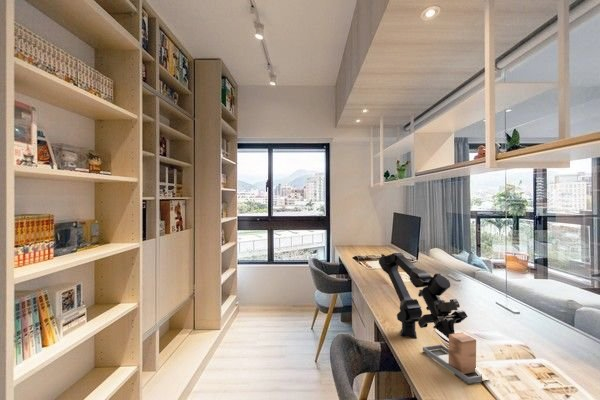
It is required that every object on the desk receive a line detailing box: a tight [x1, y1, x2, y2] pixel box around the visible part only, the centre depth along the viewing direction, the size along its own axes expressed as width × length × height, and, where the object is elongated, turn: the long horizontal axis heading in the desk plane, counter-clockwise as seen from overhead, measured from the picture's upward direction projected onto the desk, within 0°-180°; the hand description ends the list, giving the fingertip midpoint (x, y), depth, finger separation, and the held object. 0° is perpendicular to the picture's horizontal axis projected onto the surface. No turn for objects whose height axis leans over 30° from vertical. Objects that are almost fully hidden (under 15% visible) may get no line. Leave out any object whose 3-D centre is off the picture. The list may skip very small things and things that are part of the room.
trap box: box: [422, 343, 483, 386], centre depth 110 cm, size 22×9×2 cm, turn 17°
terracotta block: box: [448, 332, 477, 374], centre depth 106 cm, size 6×6×11 cm
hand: (454, 341), depth 109 cm, fingers closed
